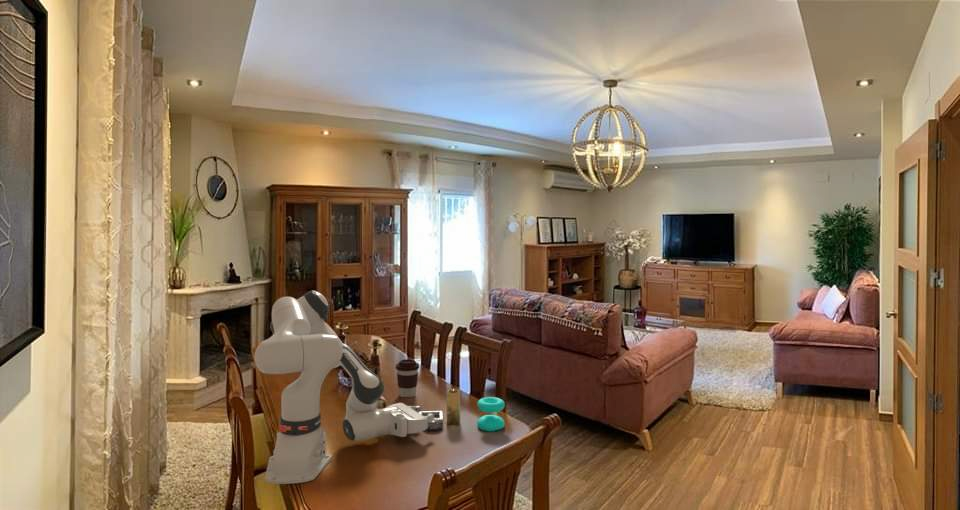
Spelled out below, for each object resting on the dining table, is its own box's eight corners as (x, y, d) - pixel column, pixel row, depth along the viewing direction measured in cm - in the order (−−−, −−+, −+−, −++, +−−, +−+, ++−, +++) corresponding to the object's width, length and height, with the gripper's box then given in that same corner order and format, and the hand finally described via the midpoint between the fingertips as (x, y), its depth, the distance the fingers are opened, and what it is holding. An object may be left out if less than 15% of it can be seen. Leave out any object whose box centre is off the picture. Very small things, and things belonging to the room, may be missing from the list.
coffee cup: (421, 392, 230) (421, 358, 229) (416, 399, 220) (416, 364, 219) (399, 391, 231) (399, 357, 230) (393, 398, 221) (393, 363, 220)
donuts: (472, 401, 188) (486, 394, 197) (472, 428, 189) (485, 420, 197) (496, 406, 183) (509, 398, 192) (496, 434, 184) (509, 425, 192)
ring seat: (442, 423, 194) (442, 419, 194) (418, 423, 193) (418, 419, 193) (442, 414, 203) (442, 410, 203) (418, 414, 202) (418, 411, 202)
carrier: (443, 431, 186) (443, 424, 186) (423, 431, 185) (423, 425, 185) (442, 419, 197) (442, 412, 197) (423, 419, 197) (423, 413, 197)
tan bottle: (460, 425, 191) (460, 391, 191) (446, 426, 191) (446, 392, 190) (459, 420, 196) (459, 387, 196) (446, 421, 196) (446, 388, 195)
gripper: (378, 419, 188) (412, 412, 196) (404, 439, 171) (440, 430, 179) (378, 402, 187) (412, 395, 195) (404, 420, 171) (441, 412, 179)
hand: (426, 412), depth 187 cm, fingers open, 8 cm apart
